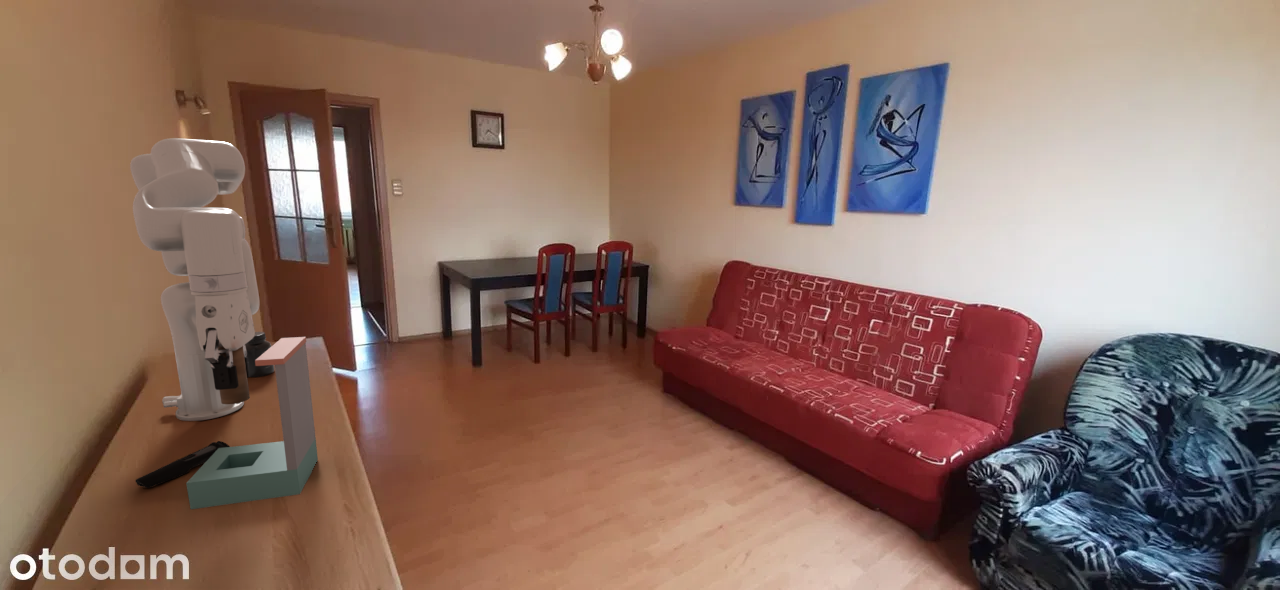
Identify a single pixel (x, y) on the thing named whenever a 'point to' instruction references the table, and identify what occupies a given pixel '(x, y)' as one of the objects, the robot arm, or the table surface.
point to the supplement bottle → (258, 355)
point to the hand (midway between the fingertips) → (232, 382)
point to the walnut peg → (242, 390)
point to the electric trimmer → (179, 466)
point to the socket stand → (266, 464)
